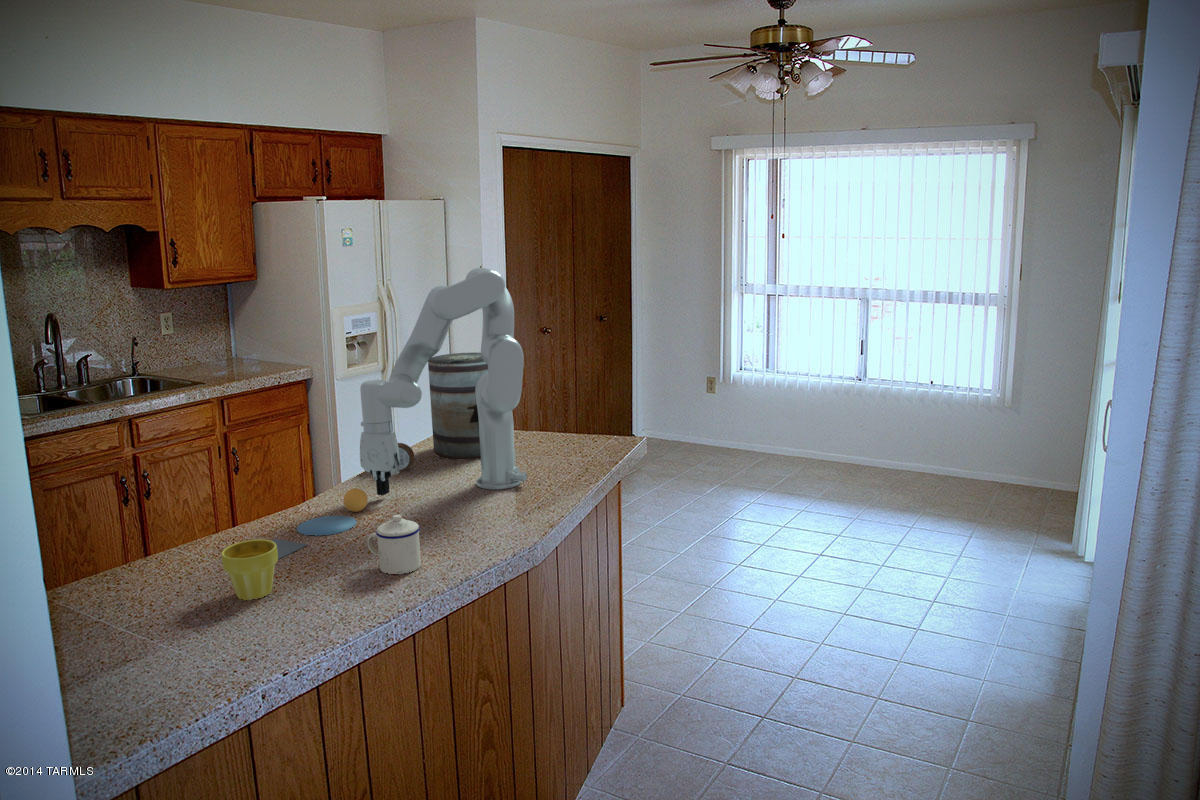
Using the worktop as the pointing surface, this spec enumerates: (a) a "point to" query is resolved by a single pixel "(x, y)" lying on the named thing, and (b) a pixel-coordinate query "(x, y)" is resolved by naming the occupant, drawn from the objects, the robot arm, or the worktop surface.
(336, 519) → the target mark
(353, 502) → the ball
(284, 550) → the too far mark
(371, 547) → the teacup with lid
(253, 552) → the plant pot
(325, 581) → the worktop surface
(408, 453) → the tin
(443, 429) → the barrel
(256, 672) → the worktop surface
